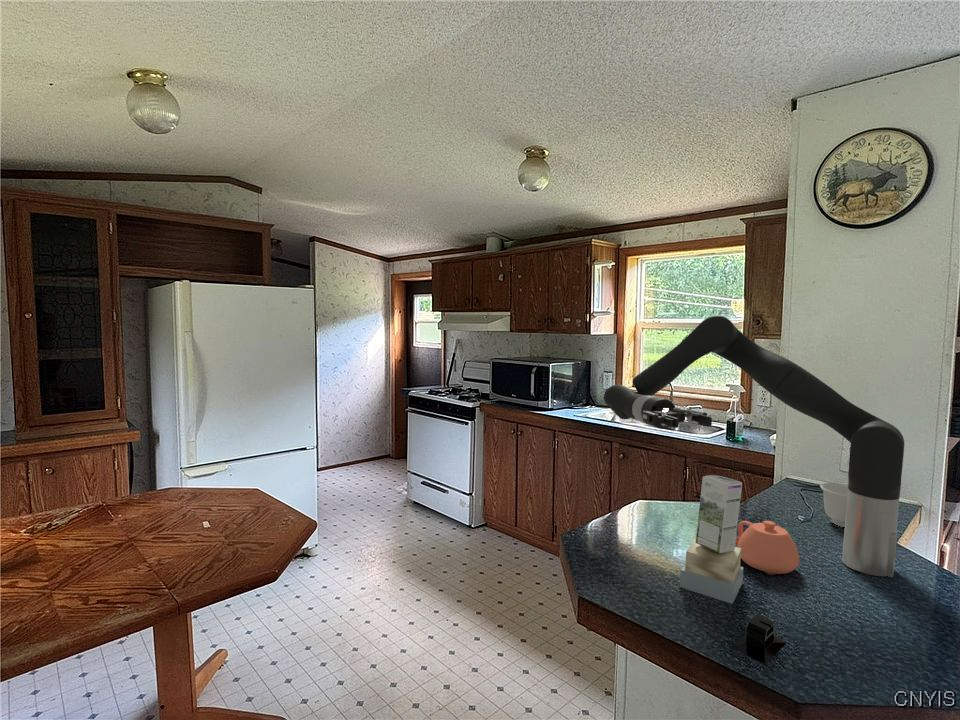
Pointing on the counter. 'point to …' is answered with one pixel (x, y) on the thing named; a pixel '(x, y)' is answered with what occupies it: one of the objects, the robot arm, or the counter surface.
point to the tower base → (711, 585)
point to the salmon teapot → (767, 547)
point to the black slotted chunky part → (760, 640)
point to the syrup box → (718, 513)
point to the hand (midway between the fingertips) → (694, 422)
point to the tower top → (713, 562)
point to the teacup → (835, 501)
